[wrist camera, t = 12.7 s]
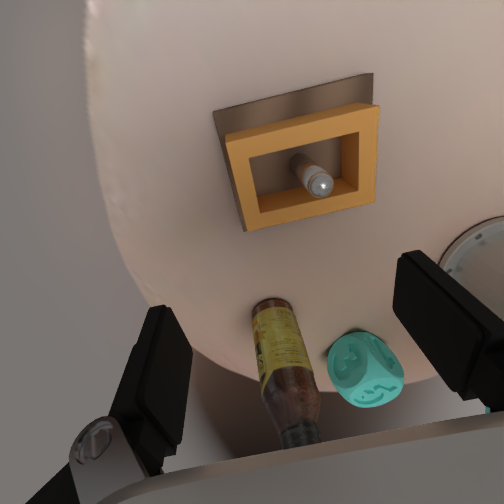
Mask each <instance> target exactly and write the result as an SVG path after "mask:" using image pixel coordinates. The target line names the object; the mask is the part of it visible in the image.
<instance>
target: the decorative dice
mask: <svg viewBox="0 0 504 504" xmlns="http://www.w3.org/2000/svg"><path fill="white" fill-rule="evenodd" d="M327 369H328V374H329V377H330V379H331V381H332V383H333V385H334V386H335V388H336V389H337V391H338V392H339V393H340V394H341V395H342V396H343V397H344V398H345V399H346V400H347V401H348V402H350V403H351V404H353V405H355V406H358V407H375V406H379V405H382V404H384V403H387V402H389V401H391V400H392V399H394V398H395V397H396V396H398V394H399V393H400V392H401V390H402V387H403V383H404V371H403V368H402V366H401V364H400V363H399V361H398V359H397V358H396V357H395V355H394V354H393V353H392V351H391V350H390V349H389V348H388V347H387V346H386V345H385V344H384V343H383V342H382V341H381V340H380V339H378V338H377V337H376V336H374V335H373V334H371V333H368V332H353V333H349V334H347V335H344V336H342V337H341V338H339V339H338V340H337V341H336V342H335V343H334V344H333V346H332V347H331V349H330V351H329V354H328V359H327Z"/></svg>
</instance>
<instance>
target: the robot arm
mask: <svg viewBox="0 0 504 504" xmlns="http://www.w3.org/2000/svg"><path fill="white" fill-rule="evenodd" d="M393 311H394V313H395V315H396V316H397V318H398V319H399V320H400V322H401V323H402V324H403V326H404V327H405V328H406V330H407V331H408V333H409V334H410V335H411V337H412V338H413V339H414V341H415V342H416V344H417V345H418V346H419V348H420V349H421V350H422V352H423V353H424V354H425V356H426V357H427V359H428V360H429V361H430V363H431V364H432V365H433V367H434V368H435V369H436V371H437V372H438V374H439V375H440V376H441V377H442V379H443V380H444V382H445V383H446V385H447V386H448V387H449V388H450V389H451V390H452V391H453V392H457V393H458V394H459V396H460V397H461V398H462V400H463V401H466V400H471V399H476V398H479V399H480V400H481V402H482V403H483V404H484V405H485V406H486V413H485V414H481V415H475V416H469V417H462V418H456V419H450V420H444V421H439V422H433V423H428V424H422V425H417V426H412V427H406V428H400V429H394V430H389V431H383V432H378V433H372V434H367V435H361V436H356V437H350V438H345V439H339V440H334V441H329V442H324V443H318V444H312V445H307V446H302V447H296V448H291V449H285V450H280V451H275V452H270V453H265V454H260V455H254V456H249V457H243V458H239V459H233V460H228V461H222V462H218V463H212V464H207V465H203V466H198V467H193V468H188V469H183V470H179V471H174V472H169V473H164V471H163V470H162V468H161V467H162V466H163V461H164V457H167V456H172V455H176V449H177V445H178V444H180V443H181V441H182V435H183V427H184V419H185V412H186V404H187V396H188V388H189V380H190V373H191V365H192V357H193V352H192V348H191V345H190V344H189V342H188V340H187V338H186V336H185V334H184V332H183V330H182V328H181V326H180V324H179V323H178V321H177V319H176V317H175V315H174V313H173V311H172V309H171V308H170V307H166V306H165V305H159V306H154V307H150V308H149V310H148V312H147V315H146V318H145V321H144V324H143V327H142V330H141V332H140V335H139V338H138V341H137V343H136V344H135V345H134V346H133V348H132V351H131V354H130V356H129V359H128V362H127V365H126V367H125V370H124V373H123V376H122V379H121V381H120V384H119V387H118V389H117V392H116V395H115V398H114V401H113V403H112V406H111V409H110V412H109V414H108V416H103V417H100V418H97V419H95V420H94V421H92V422H91V423H89V424H88V425H87V426H86V427H85V428H84V429H83V430H82V431H81V432H80V433H79V435H78V436H77V438H76V439H75V441H74V443H73V445H72V447H71V450H70V453H69V462H68V464H66V465H65V466H64V467H63V468H62V469H61V470H60V471H59V472H58V473H57V474H56V475H55V476H54V477H53V478H52V479H51V480H50V481H49V482H47V483H46V484H45V485H44V486H43V487H42V488H41V489H40V490H39V491H38V492H37V493H36V494H35V495H34V496H33V497H32V498H31V499H30V500H29V501H28V502H27V503H25V504H504V217H500V218H495V219H492V220H489V221H486V222H484V223H481V224H480V225H478V226H476V227H474V228H472V229H471V230H469V231H468V232H466V233H465V234H463V235H462V236H461V237H460V238H459V239H457V240H456V241H455V242H454V243H453V244H452V246H451V247H450V248H449V249H448V250H447V252H446V253H445V255H444V256H443V258H442V260H441V262H440V265H439V266H438V265H437V264H436V263H435V262H434V261H433V260H431V259H430V258H429V257H428V256H427V255H425V254H424V253H423V252H422V251H420V250H415V251H410V252H406V253H403V254H402V255H401V257H400V258H398V260H397V269H396V278H395V287H394V296H393Z"/></svg>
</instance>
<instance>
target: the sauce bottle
mask: <svg viewBox="0 0 504 504" xmlns="http://www.w3.org/2000/svg"><path fill="white" fill-rule="evenodd" d="M252 320H253V321H252V328H253V336H254V343H255V350H256V358H257V366H258V372H259V379H260V385H261V393H262V400H263V403H264V404H265V406H266V409H267V411H268V413H269V415H270V417H271V419H272V421H273V423H274V425H275V427H276V429H277V432H278V434H279V436H280V440H281V443H282V447H283V450H285V449H291V448H296V447H302V446H307V445H312V444H318V443H321V439H320V436H319V435H320V431H319V430H318V427H317V426H316V422H317V417H318V413H319V408H320V395H319V391H318V388H317V386H316V383H315V379H314V373H313V370H312V367H311V363H310V360H309V357H308V354H307V351H306V348H305V345H304V341H303V338H302V335H301V332H300V329H299V326H298V323H297V320H296V316H295V315H294V313H293V310H292V307H291V306H290V305H289V304H288V303H287V302H284V301H283V300H278V299H271V300H267V301H265V302H262V303H260V304H259V305H258V306H257V307H256V308H255V309H254V311H253V315H252Z"/></svg>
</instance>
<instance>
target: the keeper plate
mask: <svg viewBox="0 0 504 504" xmlns="http://www.w3.org/2000/svg"><path fill="white" fill-rule="evenodd" d="M372 100H373V73H366V74H361V75H357V76H353V77H349V78H345V79H341V80H337V81H333V82H329V83H325V84H321V85H317V86H313V87H309V88H305V89H301V90H297V91H293V92H289V93H285V94H281V95H277V96H273V97H269V98H265V99H261V100H257V101H253V102H249V103H245V104H241V105H237V106H233V107H229V108H225V109H221V110H217V111H213V116H214V120H215V124H216V127H217V131H218V135H219V139H220V143H221V147H222V151H223V154H224V158H225V162H226V166H227V170H228V174H229V177H230V181H231V185H232V189H233V193H234V197H235V201H236V204H237V208H238V212H239V216H240V220H241V224H242V227H243V231H244V232H246V231H247V227H246V223H245V219H244V215H243V211H242V207H241V203H240V199H239V195H238V191H237V187H236V183H235V179H234V175H233V171H232V167H231V163H230V159H229V155H228V151H227V147H226V143H225V135H226V134H230V133H234V132H238V131H242V130H246V129H251V128H255V127H259V126H263V125H267V124H271V123H275V122H279V121H283V120H287V119H291V118H296V117H300V116H304V115H308V114H312V113H316V112H320V111H324V110H328V109H332V108H336V107H341V106H345V105H349V104H353V103H364V104H371V105H372ZM249 163H250V168H251V173H252V177H253V182H254V187H255V191H256V196H257V197H261V196H265V195H269V194H274V193H278V192H282V191H286V190H291V189H295V188H299V187H303V186H304V187H305V188H306V189H307V190H308V192H309V193H310V194H311V195H312V196H314V197H317V198H322V197H325V196H327V195H329V194H330V193H331V191H332V189H333V186H334V181H333V179H338V178H342V168H341V136H338V137H334V138H330V139H326V140H321V141H317V142H313V143H309V144H305V145H301V146H296V147H292V148H288V149H284V150H280V151H276V152H271V153H267V154H263V155H259V156H255V157H251V158H249Z"/></svg>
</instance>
